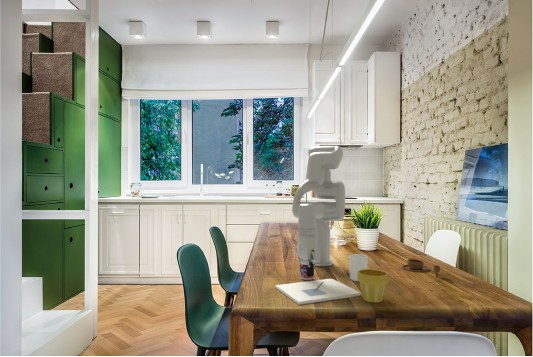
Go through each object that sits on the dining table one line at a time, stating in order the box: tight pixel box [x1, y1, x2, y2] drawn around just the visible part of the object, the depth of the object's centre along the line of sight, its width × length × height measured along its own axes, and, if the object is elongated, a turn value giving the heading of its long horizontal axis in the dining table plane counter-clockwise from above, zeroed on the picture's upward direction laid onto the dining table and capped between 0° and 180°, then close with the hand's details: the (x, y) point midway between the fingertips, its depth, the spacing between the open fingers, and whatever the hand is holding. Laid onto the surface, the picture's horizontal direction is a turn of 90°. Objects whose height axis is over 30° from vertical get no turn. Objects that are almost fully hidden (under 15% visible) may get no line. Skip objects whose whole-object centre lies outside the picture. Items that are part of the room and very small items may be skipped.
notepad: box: [274, 278, 362, 306], centre depth 135 cm, size 20×26×1 cm
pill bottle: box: [300, 258, 314, 281], centre depth 152 cm, size 5×5×10 cm
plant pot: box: [357, 268, 389, 303], centre depth 126 cm, size 10×10×10 cm
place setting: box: [397, 258, 441, 278], centre depth 165 cm, size 18×20×6 cm
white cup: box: [348, 253, 369, 282], centre depth 152 cm, size 8×8×10 cm
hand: (306, 273), depth 152 cm, fingers closed on pill bottle, 5 cm apart
